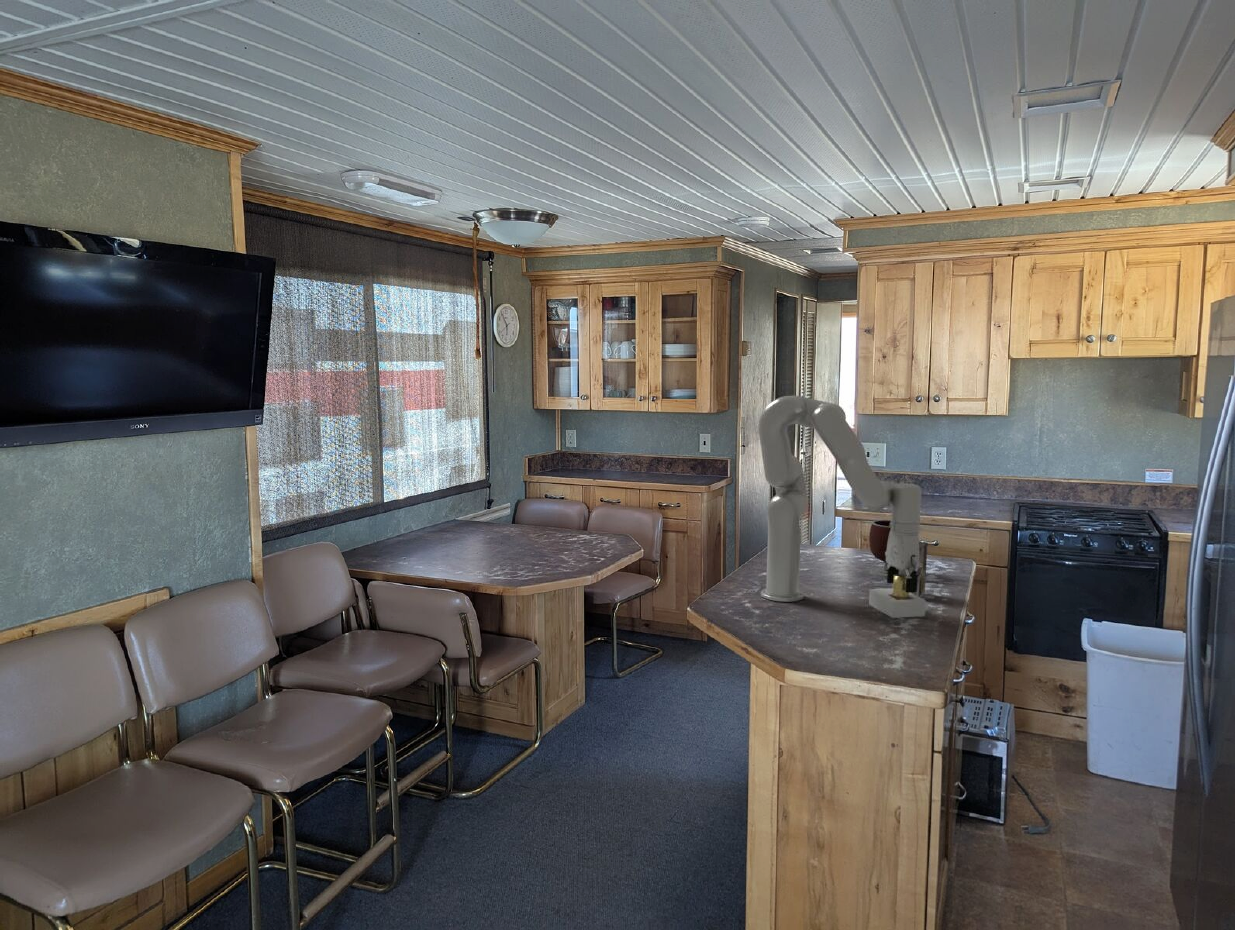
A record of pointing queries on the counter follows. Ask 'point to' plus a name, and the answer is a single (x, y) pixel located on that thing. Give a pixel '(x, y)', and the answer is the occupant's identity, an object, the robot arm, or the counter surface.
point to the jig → (896, 604)
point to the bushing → (900, 587)
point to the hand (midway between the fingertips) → (901, 587)
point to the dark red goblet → (879, 544)
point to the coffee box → (922, 575)
